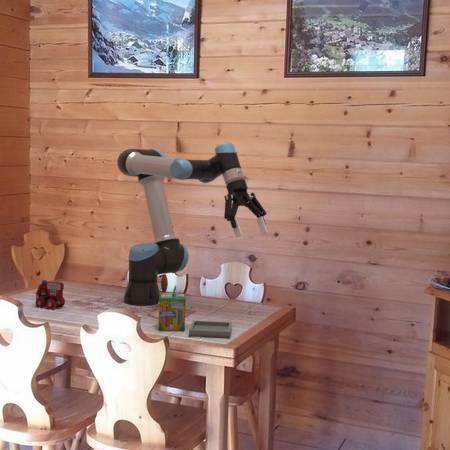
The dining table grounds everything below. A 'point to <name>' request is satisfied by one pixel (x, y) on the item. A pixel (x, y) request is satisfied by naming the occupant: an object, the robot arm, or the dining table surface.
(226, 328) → the tray
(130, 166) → the robot arm
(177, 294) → the chalk box
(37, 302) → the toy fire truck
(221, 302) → the dining table surface
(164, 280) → the hand bell
